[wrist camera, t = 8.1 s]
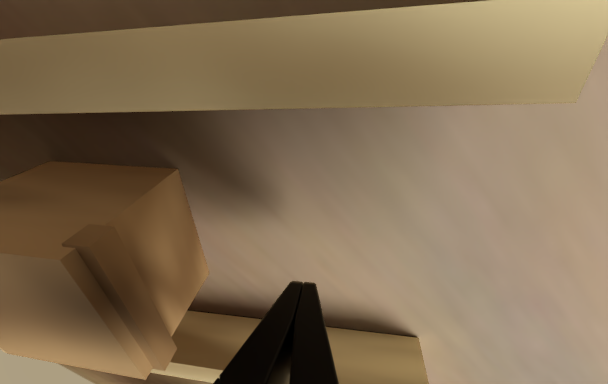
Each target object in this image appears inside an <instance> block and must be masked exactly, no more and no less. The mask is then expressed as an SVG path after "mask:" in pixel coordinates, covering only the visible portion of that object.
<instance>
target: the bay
mask: <svg viewBox="0 0 608 384" xmlns="http://www.w3.org/2000/svg"><path fill="white" fill-rule="evenodd" d="M607 36H608V0H488V1H475V2H462V3H450V4H437V5H425V6H412V7H400V8H387V9H375V10H362V11H350V12H337V13H324V14H312V15H299V16H287V17H274V18H262V19H249V20H237V21H224V22H212V23H199V24H186V25H174V26H161V27H149V28H136V29H124V30H111V31H99V32H86V33H74V34H61V35H48V36H36V37H23V38H11V39H0V115H3V114H53V113H103V112H153V111H203V110H253V109H303V108H353V107H403V106H453V105H503V104H553V103H576V101H577V99H578V97H579V95H580V93H581V90H582V88H583V86H584V84H585V82H586V80H587V78H588V76H589V74H590V71H591V69H592V67H593V65H594V63H595V61H596V59H597V57H598V55H599V53H600V50H601V48H602V46H603V44H604V42H605V40H606V38H607ZM261 320H262V319H255V318H246V317H238V316H229V315H221V314H212V313H204V312H195V311H186V313H185V315H184V317H183V318H182V320H181V322H180V323H179V325H178V327H177V328H176V330H175V332H174V333H173V335H172V337H171V338H172V340H173V341H174V343H175V345H176V347H177V350H176V352H175V354H174V355H173V357H172V359H171V361H170V363H169V365H168V366H167V368H166V370H165V371H162V370H156V369H152V370H151V372H150V373H156V374H162V375H168V376H174V377H180V378H186V379H192V380H198V381H204V382H210V383H214V382H215V380H216V379H217V378H219V376H220V374H221V373H222V371H223V370H224V369H225V367H226V366H227V365H228V364H229V362H230V361H231V360H232V358H233V357H234V356H235V354H236V353H237V352H238V350H239V349H240V348H241V346H242V345H243V344H244V343H245V341H246V340H247V339H248V337H249V336H250V335H251V333H252V332H253V331H254V329H255V328H256V327H257V325H258V324H259V323H260V321H261ZM326 330H327V334H328V338H329V343H330V347H331V351H332V356H333V360H334V364H335V368H336V373H337V377H338V381H339V384H429V383H428V378H427V374H426V369H425V365H424V360H423V356H422V351H421V347H420V342H419V338H416V337H407V336H399V335H390V334H382V333H373V332H365V331H356V330H348V329H339V328H331V327H326ZM0 349H1V348H0ZM1 350H2V351H3V352H5V351H4V350H3V349H1ZM5 353H6V352H5ZM219 379H220V378H219Z"/></svg>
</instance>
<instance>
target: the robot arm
mask: <svg viewBox="0 0 608 384" xmlns="http://www.w3.org/2000/svg"><path fill="white" fill-rule="evenodd" d="M219 378H220V379H219ZM219 378H217V379H216V380H215V382H214V383H213V384H339V381H338V377H337V373H336V368H335V364H334V360H333V356H332V351H331V347H330V343H329V338H328V334H327V330H326V325H325V321H324V317H323V313H322V308H321V304H320V300H319V295H318V291H317V287H316V284H315V283H311V282H304V284H303V282H299V281H292V282H290V283H289V285H288V286H287V287H286V289H285V290H284V291H283V293H282V294H281V295H280V297H279V298H278V299H277V300H276V302H275V303H274V304H273V306H272V307H271V308H270V310H269V311H268V312H267V314H266V315H265V316H264V318H263V319H262V320H261V321H260V323H259V324H258V325H257V327H256V328H255V329H254V331H253V332H252V333H251V335H250V336H249V337H248V339H247V340H246V341H245V343H244V344H243V345H242V346H241V348H240V349H239V350H238V352H237V353H236V354H235V356H234V357H233V358H232V360H231V361H230V362H229V364H228V365H227V366H226V367H225V369H224V370H223V371H222V373H221V374H220V376H219Z"/></svg>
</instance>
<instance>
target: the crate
mask: <svg viewBox="0 0 608 384" xmlns="http://www.w3.org/2000/svg"><path fill="white" fill-rule="evenodd" d="M208 275H209V270H208V266H207V263H206V260H205V257H204V253H203V250H202V247H201V243H200V240H199V237H198V233H197V230H196V227H195V224H194V220H193V217H192V214H191V210H190V207H189V204H188V200H187V197H186V194H185V191H184V187H183V184H182V181H181V177H180V174H179V171H178V169H173V168H156V167H139V166H123V165H106V164H89V163H73V162H56V161H49V162H46V163H44V164H41V165H39V166H37V167H34V168H32V169H29V170H27V171H25V172H22V173H20V174H18V175H15V176H13V177H10V178H8V179H6V180H3V181H1V182H0V348H1V349H3V350H4V351H5V352H6V353H8V354H12V355H17V356H23V357H28V358H33V359H38V360H44V361H49V362H54V363H59V364H65V365H70V366H75V367H80V368H86V369H91V370H96V371H101V372H107V373H112V374H117V375H122V376H128V377H133V378H138V379H143V380H146V379H147V377H148V375H149V374H150V372H151V370H152V369H156V370H162V371H165V370H166V368H167V366H168V365H169V363H170V361H171V359H172V357H173V355H174V354H175V352H176V350H177V347H176V345H175V343H174V341H173V340H172V338H171V337H172V335H173V333H174V332H175V330H176V328H177V327H178V325H179V323H180V322H181V320H182V318H183V317H184V315H185V313H186V311H187V310H188V308H189V306H190V305H191V303H192V301H193V300H194V298H195V296H196V295H197V293H198V291H199V290H200V288H201V286H202V285H203V283H204V281H205V280H206V278H207V276H208Z"/></svg>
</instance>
